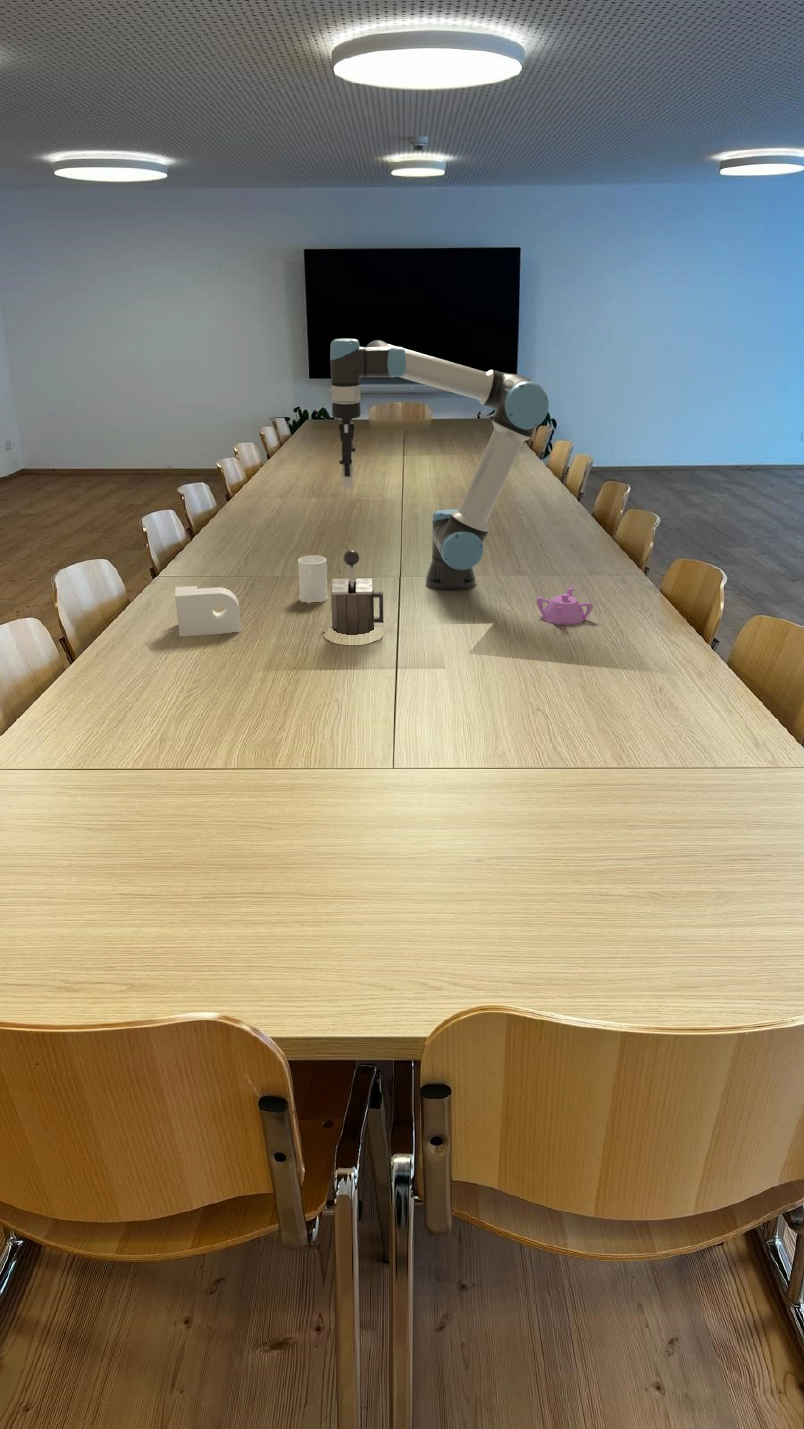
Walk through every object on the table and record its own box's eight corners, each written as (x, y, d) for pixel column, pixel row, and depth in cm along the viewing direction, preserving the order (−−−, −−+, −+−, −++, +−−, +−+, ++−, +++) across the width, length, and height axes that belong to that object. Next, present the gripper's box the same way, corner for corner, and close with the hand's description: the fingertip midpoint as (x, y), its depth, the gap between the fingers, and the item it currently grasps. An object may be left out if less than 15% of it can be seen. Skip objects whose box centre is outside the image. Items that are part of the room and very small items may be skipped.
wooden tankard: (383, 624, 265) (382, 577, 259) (383, 640, 254) (383, 592, 249) (332, 624, 264) (330, 578, 259) (330, 640, 254) (329, 592, 248)
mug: (323, 608, 277) (321, 568, 272) (293, 607, 278) (291, 567, 273) (331, 594, 288) (329, 555, 282) (302, 593, 289) (300, 554, 283)
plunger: (366, 621, 262) (365, 546, 253) (366, 631, 256) (365, 554, 246) (340, 621, 262) (337, 546, 252) (339, 631, 255) (336, 554, 246)
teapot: (569, 614, 273) (571, 584, 269) (595, 631, 262) (598, 600, 258) (531, 619, 269) (533, 589, 265) (556, 637, 258) (559, 606, 254)
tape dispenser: (180, 641, 256) (175, 596, 250) (180, 627, 265) (175, 583, 259) (241, 636, 259) (238, 592, 253) (239, 622, 268) (236, 579, 262)
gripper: (333, 394, 268) (335, 471, 277) (330, 409, 246) (332, 493, 255) (360, 394, 268) (362, 471, 278) (359, 409, 246) (361, 493, 255)
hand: (348, 482), depth 266 cm, fingers open, 13 cm apart
